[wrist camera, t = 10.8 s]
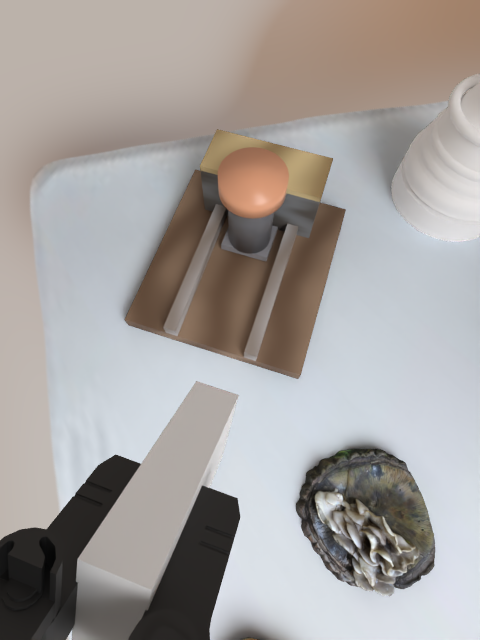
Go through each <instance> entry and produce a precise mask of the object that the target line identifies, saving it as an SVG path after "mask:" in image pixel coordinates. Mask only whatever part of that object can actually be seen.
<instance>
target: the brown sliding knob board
mask: <svg viewBox="0 0 480 640" xmlns="http://www.w3.org/2000/svg"><path fill="white" fill-rule="evenodd" d="M248 147H257V148H263V149H266V150H269V151H271V152H273V153H275V154H276V155H278V156H279V157H280V158H281V159H282V160H283V161H284V162H285V164H286V166H287V168H288V172H289V180H288V186H287V191H286V197H285V200H284V202H283V204H282V205H281V207H280V208H279V209H278V210H277V211H275V212H274V217H273V224H272V225H273V226H276V227H278V229H277V233H276V236H275V239H274V242H273V245H272V247H271V250H270V253H269V256H268V259H267V262H265V261H262V260H258V259H255V258H251V257H248V256H244V255H241V254H237V253H234V252H230V251H227V250H223V249H221V244H222V241H223V239H224V236H225V234H226V231H227V229H228V227H229V221H228V209H227V208H226V207H225V206H224V205H223V204H222V202H221V200H220V197H219V190H218V169H219V166H220V164H221V162H222V161H223V159H224V158H225V157H226V156H228V155H229V154H230V153H232V152H234V151H236V150H239V149H242V148H248ZM332 161H333V158H329V157H325V156H321V155H317V154H313V153H309V152H305V151H301V150H297V149H293V148H289V147H285V146H281V145H277V144H273V143H269V142H265V141H261V140H257V139H253V138H250V137H246V136H242V135H238V134H234V133H230V132H226V131H222V130H218V129H217V131H216V133H215V135H214V137H213V139H212V141H211V143H210V145H209V148H208V150H207V152H206V154H205V156H204V158H203V160H202V163H201V165H200V171H199V170H195V172H194V174H193V176H192V178H191V180H190V182H189V184H188V186H187V189H186V191H185V193H184V195H183V197H182V199H181V201H180V203H179V206H178V208H177V210H176V212H175V214H174V216H173V218H172V220H171V222H170V225H169V227H168V229H167V231H166V233H165V235H164V237H163V239H162V242H161V244H160V246H159V248H158V250H157V252H156V254H155V256H154V258H153V261H152V263H151V265H150V267H149V269H148V271H147V273H146V275H145V277H144V280H143V282H142V284H141V286H140V288H139V290H138V292H137V294H136V297H135V299H134V301H133V303H132V305H131V307H130V309H129V311H128V313H127V316H126V318H125V321H126V322H127V324H128V325H130V326H133V327H136V328H139V329H142V330H145V331H149V332H152V333H155V334H158V335H161V336H164V337H167V338H171V339H174V340H177V341H180V342H183V343H186V344H190V345H193V346H196V347H199V348H202V349H205V350H208V351H212V352H215V353H218V354H221V355H224V356H227V357H231V358H234V359H237V360H240V361H243V362H246V363H249V364H253V365H256V366H259V367H262V368H265V369H268V370H271V371H275V372H278V373H281V374H284V375H287V376H290V377H294V378H297V379H298V378H299V377H300V375H301V371H302V368H303V364H304V360H305V357H306V353H307V349H308V346H309V342H310V339H311V335H312V331H313V328H314V324H315V320H316V317H317V313H318V309H319V306H320V302H321V298H322V295H323V291H324V287H325V284H326V280H327V276H328V273H329V269H330V265H331V262H332V258H333V254H334V251H335V247H336V243H337V240H338V236H339V232H340V229H341V225H342V221H343V218H344V214H345V210H346V209H342V208H338V207H334V206H330V205H327V204H323V203H320V200H321V197H322V194H323V190H324V187H325V184H326V181H327V177H328V174H329V171H330V167H331V164H332Z"/></svg>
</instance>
